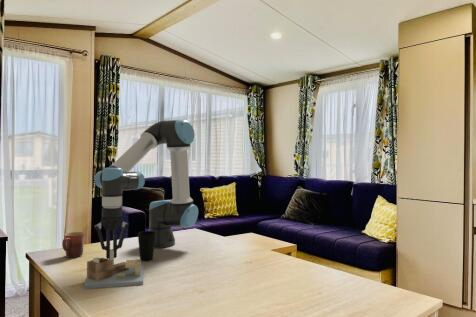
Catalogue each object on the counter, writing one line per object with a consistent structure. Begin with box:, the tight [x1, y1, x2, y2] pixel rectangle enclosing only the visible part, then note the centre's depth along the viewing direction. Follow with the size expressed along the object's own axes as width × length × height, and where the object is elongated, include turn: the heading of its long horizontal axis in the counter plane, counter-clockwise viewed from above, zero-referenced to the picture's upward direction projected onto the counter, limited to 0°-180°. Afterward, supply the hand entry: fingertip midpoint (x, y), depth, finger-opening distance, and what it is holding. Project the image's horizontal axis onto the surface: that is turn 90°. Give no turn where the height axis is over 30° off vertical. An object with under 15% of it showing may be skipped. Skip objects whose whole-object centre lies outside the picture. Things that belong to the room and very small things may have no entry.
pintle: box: [92, 257, 101, 263], centre depth 133 cm, size 2×2×7 cm
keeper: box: [117, 258, 142, 279], centre depth 136 cm, size 8×8×4 cm
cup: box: [137, 230, 155, 262], centre depth 160 cm, size 8×8×12 cm
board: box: [83, 263, 145, 290], centre depth 137 cm, size 20×21×1 cm
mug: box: [61, 231, 86, 259], centre depth 163 cm, size 12×9×10 cm
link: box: [86, 257, 129, 281], centre depth 137 cm, size 15×6×6 cm, turn 146°
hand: (111, 266), depth 141 cm, fingers closed
